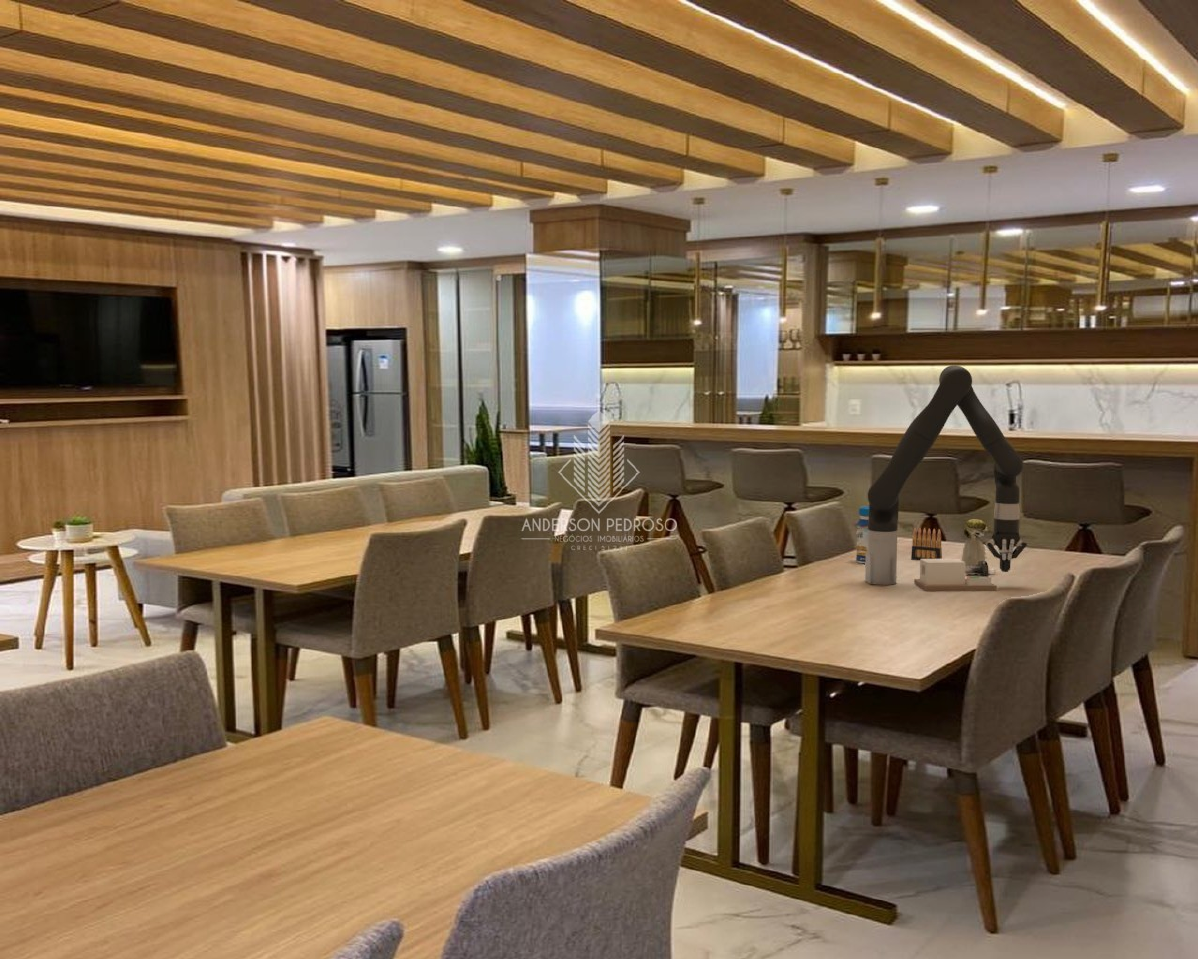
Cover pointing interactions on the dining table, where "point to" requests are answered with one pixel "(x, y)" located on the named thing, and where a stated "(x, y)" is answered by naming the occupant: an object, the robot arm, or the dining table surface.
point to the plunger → (978, 569)
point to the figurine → (975, 543)
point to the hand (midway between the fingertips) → (1004, 571)
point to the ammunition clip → (926, 545)
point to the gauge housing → (950, 577)
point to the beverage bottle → (862, 534)
